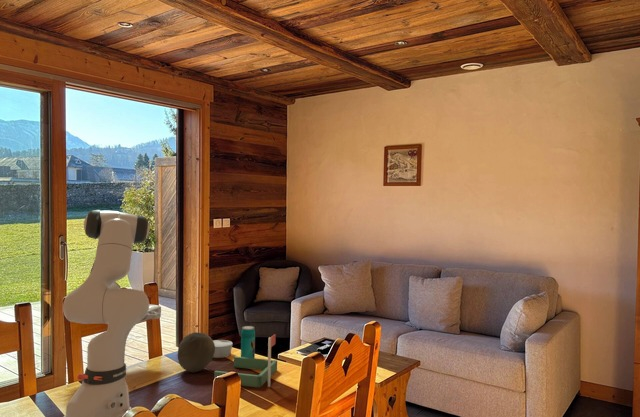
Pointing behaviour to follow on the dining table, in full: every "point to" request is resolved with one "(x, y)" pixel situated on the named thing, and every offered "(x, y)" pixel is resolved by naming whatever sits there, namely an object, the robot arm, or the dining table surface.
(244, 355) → the beverage can
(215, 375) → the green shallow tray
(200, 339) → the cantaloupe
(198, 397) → the dining table surface
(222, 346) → the ramekin
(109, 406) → the robot arm
